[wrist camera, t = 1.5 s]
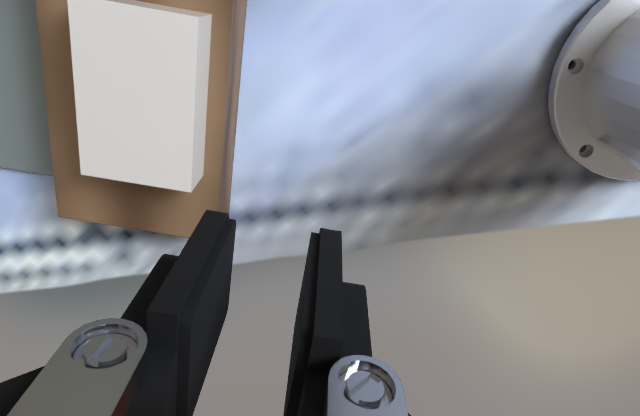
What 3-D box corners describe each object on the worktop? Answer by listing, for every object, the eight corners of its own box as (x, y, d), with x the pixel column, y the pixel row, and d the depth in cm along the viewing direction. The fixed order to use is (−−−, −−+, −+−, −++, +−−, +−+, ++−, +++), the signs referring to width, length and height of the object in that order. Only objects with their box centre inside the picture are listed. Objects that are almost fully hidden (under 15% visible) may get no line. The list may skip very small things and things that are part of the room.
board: (253, -75, 25) (238, -86, 21) (228, 213, 32) (215, 241, 29) (68, -110, 24) (21, -127, 20) (89, 191, 32) (58, 216, 28)
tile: (212, 14, 23) (198, 17, 21) (203, 175, 27) (191, 192, 25) (93, -8, 23) (66, -7, 20) (102, 158, 27) (80, 174, 24)
